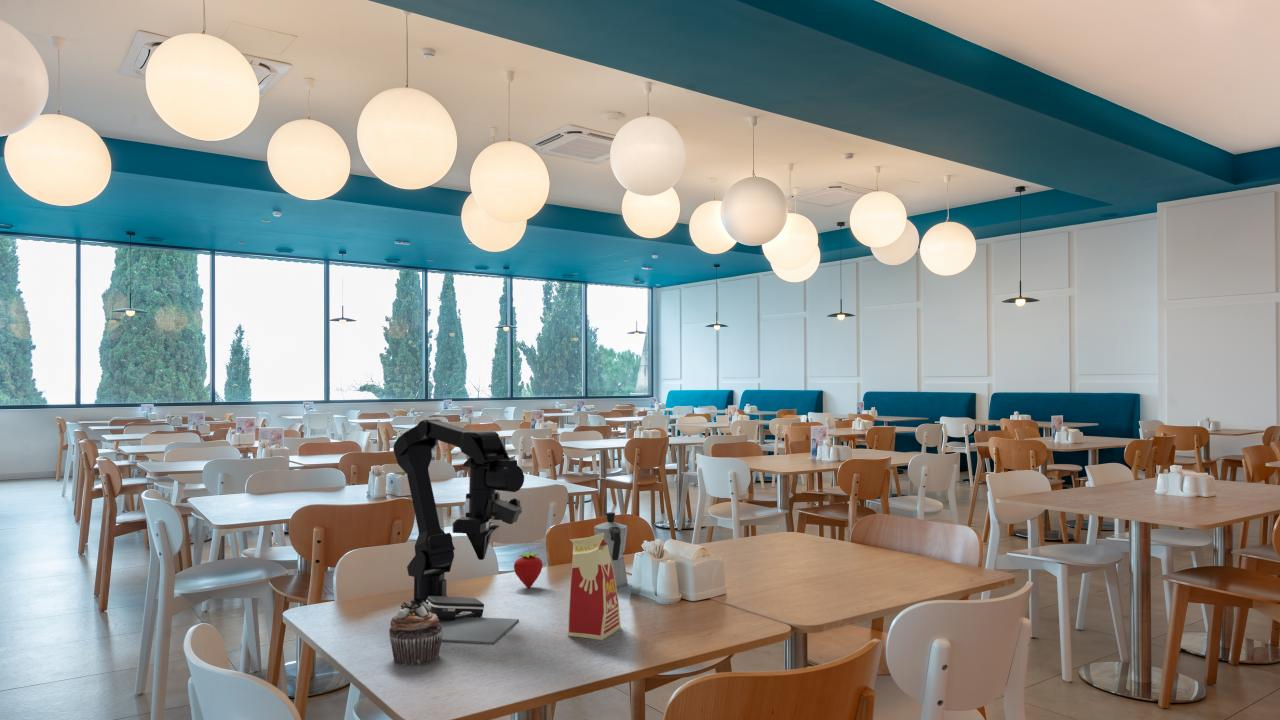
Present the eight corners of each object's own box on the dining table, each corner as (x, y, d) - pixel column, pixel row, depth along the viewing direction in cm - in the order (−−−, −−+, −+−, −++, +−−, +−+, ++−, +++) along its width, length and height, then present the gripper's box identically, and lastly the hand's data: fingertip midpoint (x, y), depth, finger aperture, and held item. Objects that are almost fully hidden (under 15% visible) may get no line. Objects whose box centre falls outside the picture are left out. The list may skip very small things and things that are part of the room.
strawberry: (509, 587, 201) (509, 547, 201) (535, 583, 205) (535, 543, 206) (520, 592, 196) (521, 550, 197) (547, 587, 201) (547, 547, 201)
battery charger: (472, 614, 178) (421, 613, 173) (475, 597, 179) (424, 595, 173) (483, 622, 172) (430, 621, 167) (486, 604, 173) (433, 602, 167)
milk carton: (620, 627, 166) (620, 529, 167) (604, 640, 158) (604, 537, 158) (580, 623, 169) (580, 527, 170) (561, 636, 161) (561, 534, 161)
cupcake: (392, 670, 141) (392, 612, 141) (386, 653, 150) (386, 599, 150) (447, 662, 145) (448, 606, 145) (438, 647, 154) (439, 594, 154)
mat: (405, 639, 158) (405, 637, 158) (438, 617, 174) (438, 615, 174) (492, 644, 155) (492, 641, 155) (518, 621, 171) (518, 619, 171)
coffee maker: (589, 579, 210) (589, 509, 210) (622, 577, 212) (622, 508, 213) (600, 592, 195) (600, 518, 196) (635, 590, 197) (635, 516, 198)
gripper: (502, 495, 168) (501, 570, 167) (530, 484, 186) (529, 552, 185) (452, 493, 170) (450, 568, 169) (484, 483, 188) (483, 550, 187)
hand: (481, 559), depth 178 cm, fingers closed
